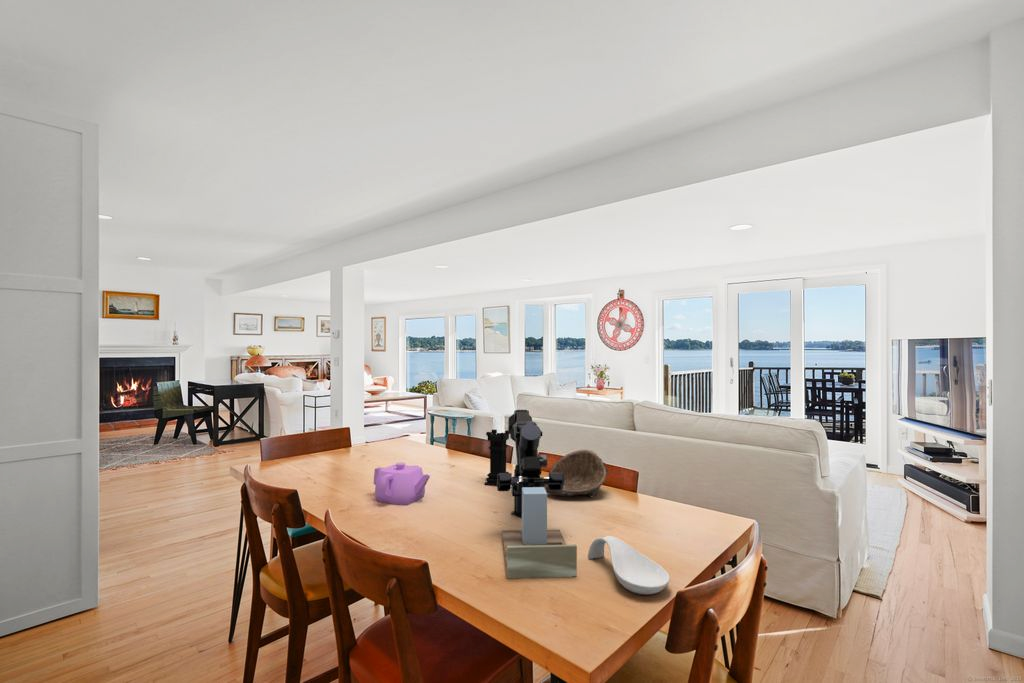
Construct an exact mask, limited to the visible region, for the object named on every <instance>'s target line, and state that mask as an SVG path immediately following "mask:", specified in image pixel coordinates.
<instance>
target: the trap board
mask: <svg viewBox="0 0 1024 683" xmlns="http://www.w3.org/2000/svg"><path fill="white" fill-rule="evenodd" d="M501 532H502V535H501V536H502V538H501V539H502V546H503V553H504V554H503V555H504V562H505V568H506V569H505V570H506V578H507V579H534V578H537V579H538V578H541V579H542V578H573V577H572V576H578V575H577V574H578V573H577V572H578V570H577V569H578V568H577V565H578V563H577V556H578V553H577V552H578V548H577V546H578V545H577V544H576V543H575V544H567V543H566V541H565V538H564V536H563V533H562V531H561V529H547V544H536V545H524V544H523V539H522V529H520V530H519V529H517V530H512V529H511V530H509V529H508V530H502V531H501Z"/></svg>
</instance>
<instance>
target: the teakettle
mask: <svg viewBox="0 0 1024 683" xmlns="http://www.w3.org/2000/svg"><path fill="white" fill-rule="evenodd" d="M430 478H431V474H427V473H424V471H423V468H422V467H420V466H419V465H407V464H406V462H397V463H395V464H393V465H389V466H386V467H379V466H378V467H376V468H374V473H373V484H374V485H375V488H374V497H375V500H376V502H380V503H383V504H389V505H398V506H409V505H411V504H413V503H415V502H417V501H419V500H421V499H422V498H424V496H425V494H426V485H427V483H428V481H429V479H430Z"/></svg>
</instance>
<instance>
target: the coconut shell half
mask: <svg viewBox="0 0 1024 683" xmlns="http://www.w3.org/2000/svg"><path fill="white" fill-rule="evenodd" d="M606 465H607V464H606V463H605V462H604V461H603V459H602V458H601V457H599V455H598V454H597V453H596V452H595V451H593V450H589V449H578V450H575V451H572V452H570V453H567V454H566V455H564V456H563V457H561V458H560V459H558V460H557V461H556V462H555V463H554V464H553V465H552V467H551V468H550V470H549V472H548V475H549V474H550V473H552V472H562V473H563V475H564V479H565V481H564V485H563V489H562V490H560V491H551V490H550V489H549V488H548V485H544V488H545V490H546V492H547V495H551V496H558V497H559V496H562V497H564V496H565V497H571V496H583V495H588V497H589V496H593V497H594V496H596V494H597V493H598V492H599V490H600V488H601V486H602V485H603V484H604V483H605V481H606V479H607V475H608V474H609V472H610V471H609V470H608V469H606V467H607V466H606Z"/></svg>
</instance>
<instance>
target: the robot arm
mask: <svg viewBox="0 0 1024 683" xmlns="http://www.w3.org/2000/svg"><path fill="white" fill-rule="evenodd" d="M507 421H508V422H507V430H508V432H510V434H509V439H511V440H512V441H513V442H515V452H516V464H515V466H514V474H513V473H512V472H509V473H499V474H498V478H497V486H496V488H497V489H496V490H497V491H498V492H509V491H511V497H514V499H513V500H514V504H513V505H514V506H513V509H514V510H512V511H511V512H510V514H511V515H514V516H516V517H520V518H522V487H544V485H548V488H549V489H550V490H551V491H560V490H562V489H563V485H564V481H565V479H564V475H563V473H562V472H552V473H550V474H549V473H548V477H541V475H542V468H548V456H547V454H540V455H539V452H538V448H539V446H540V441H541V437H543V431H542V430H541V429H540V427H539V426H538V424H537V422H535V421H533V418H532V416H531V414H530V411H529V410H527V409H515V410H514V412H513V414H511V415H510V416H509V417H508V420H507Z"/></svg>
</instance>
